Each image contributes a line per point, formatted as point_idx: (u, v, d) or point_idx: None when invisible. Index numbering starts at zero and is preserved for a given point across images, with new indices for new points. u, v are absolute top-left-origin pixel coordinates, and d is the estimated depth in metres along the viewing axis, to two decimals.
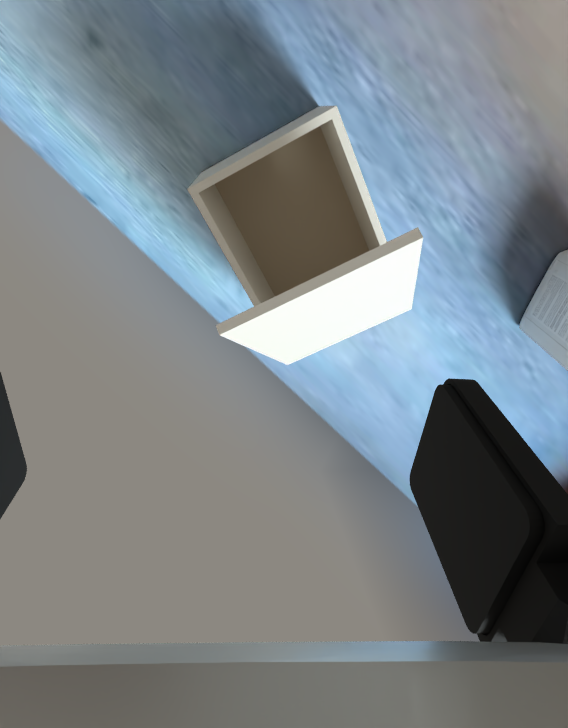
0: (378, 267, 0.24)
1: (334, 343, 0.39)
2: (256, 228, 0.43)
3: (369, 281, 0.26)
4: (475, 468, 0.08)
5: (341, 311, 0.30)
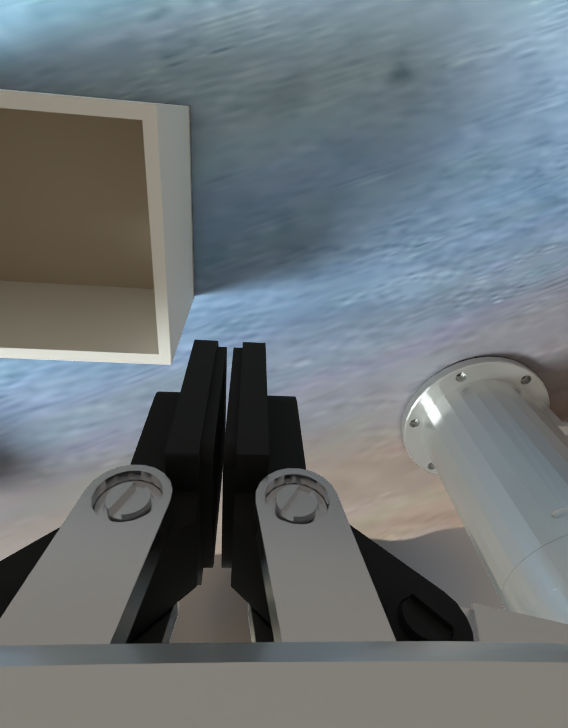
0: None
1: None
2: (74, 137, 0.26)
3: None
4: None
5: None
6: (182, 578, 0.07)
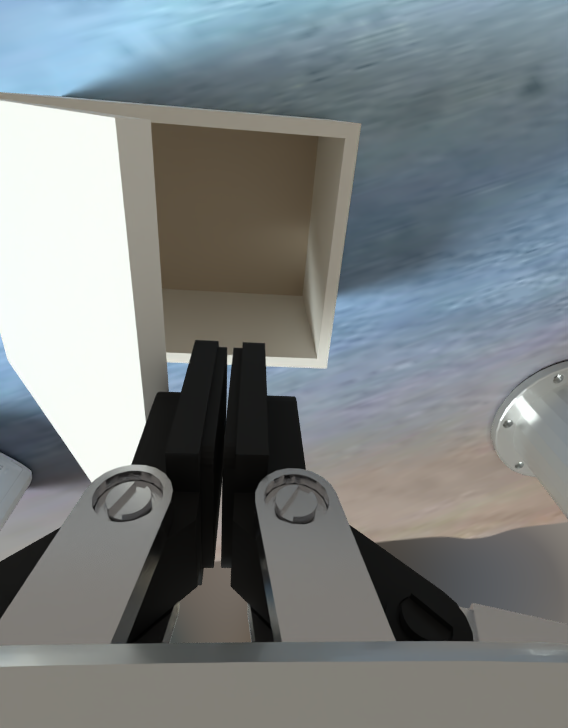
0: None
1: None
2: (217, 150, 0.27)
3: (105, 448, 0.13)
4: None
5: (49, 334, 0.14)
6: (183, 578, 0.07)
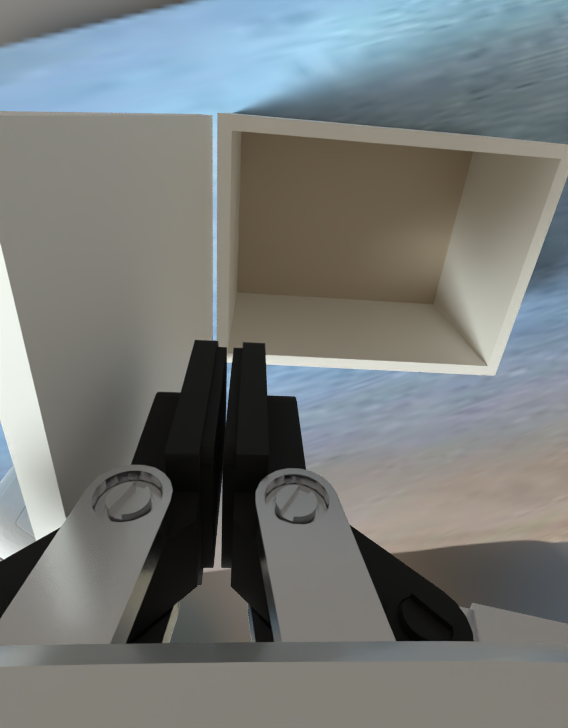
0: None
1: None
2: (375, 164, 0.28)
3: None
4: None
5: None
6: (182, 578, 0.07)
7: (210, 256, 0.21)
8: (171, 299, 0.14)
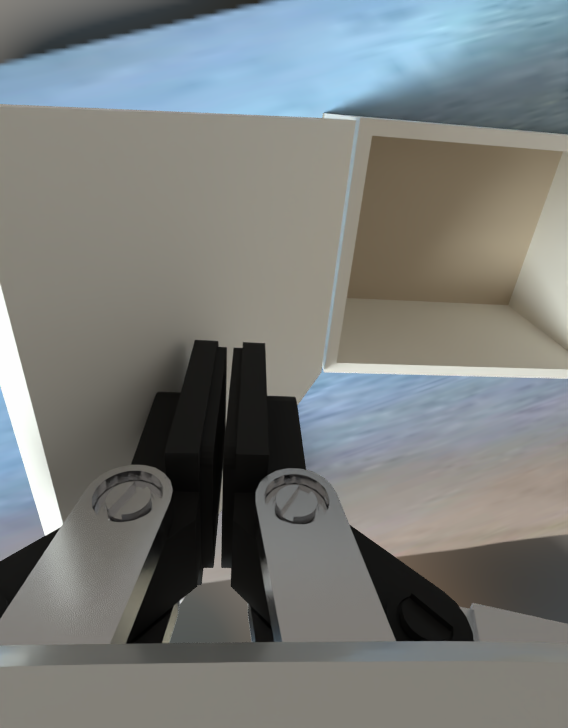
0: None
1: None
2: (464, 165, 0.28)
3: None
4: None
5: None
6: (182, 578, 0.07)
7: (332, 265, 0.20)
8: (257, 303, 0.13)
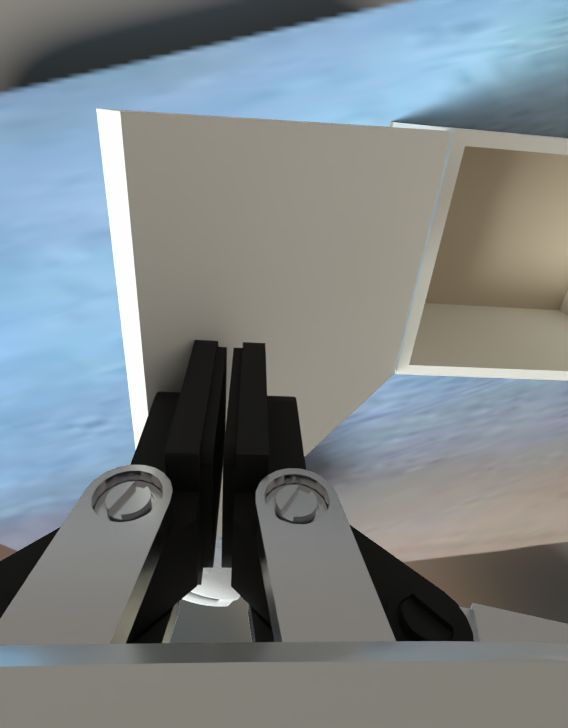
0: None
1: None
2: (525, 173, 0.28)
3: None
4: None
5: None
6: (182, 578, 0.07)
7: (414, 269, 0.21)
8: (333, 293, 0.15)
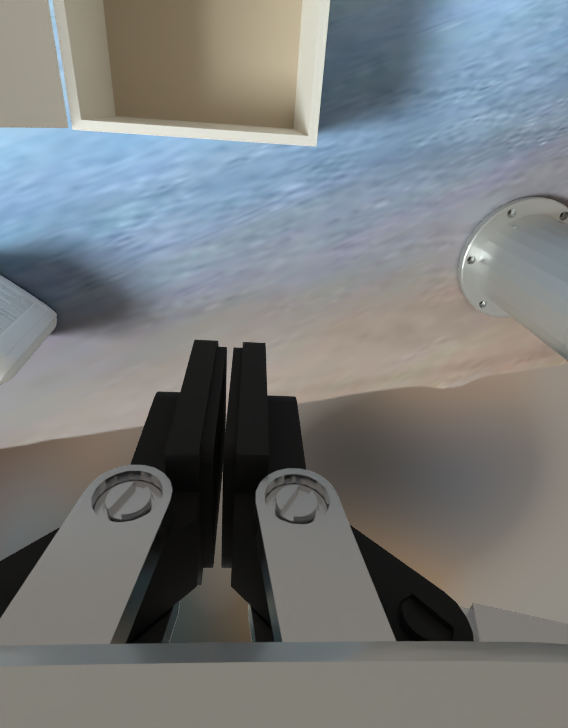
0: None
1: None
2: None
3: None
4: None
5: None
6: (182, 578, 0.07)
7: (38, 6, 0.25)
8: None
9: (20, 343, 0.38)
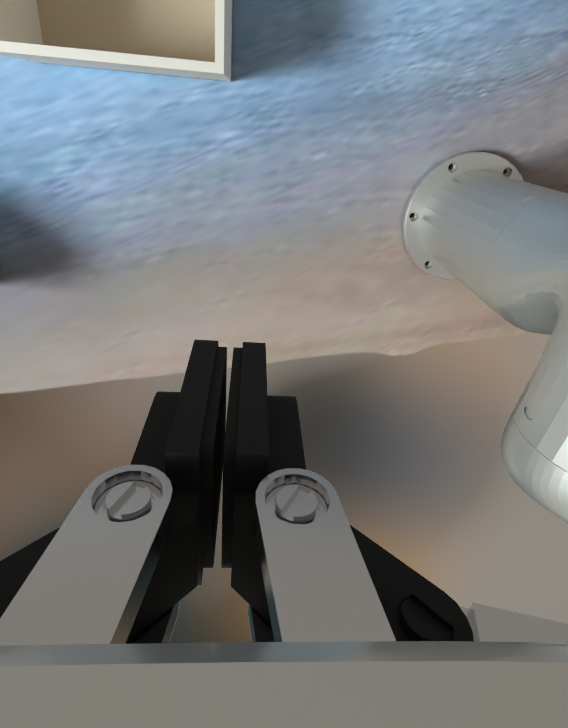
0: None
1: None
2: None
3: None
4: None
5: None
6: (182, 578, 0.07)
7: None
8: None
9: None
